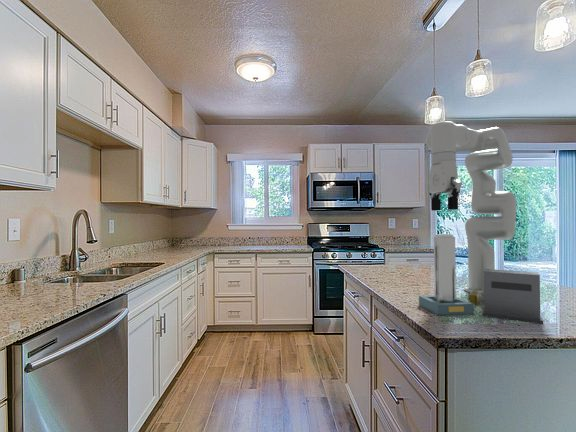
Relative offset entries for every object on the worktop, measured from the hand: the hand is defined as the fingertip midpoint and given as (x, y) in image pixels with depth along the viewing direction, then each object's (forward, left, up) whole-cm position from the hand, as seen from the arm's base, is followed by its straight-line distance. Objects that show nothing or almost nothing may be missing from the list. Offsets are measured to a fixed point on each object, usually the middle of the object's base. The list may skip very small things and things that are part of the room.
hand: (444, 210), depth 107 cm
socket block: (0, 0, -34) cm, 34 cm away
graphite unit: (-16, +9, -34) cm, 38 cm away
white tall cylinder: (0, 0, -33) cm, 33 cm away
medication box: (-18, -9, -34) cm, 40 cm away
